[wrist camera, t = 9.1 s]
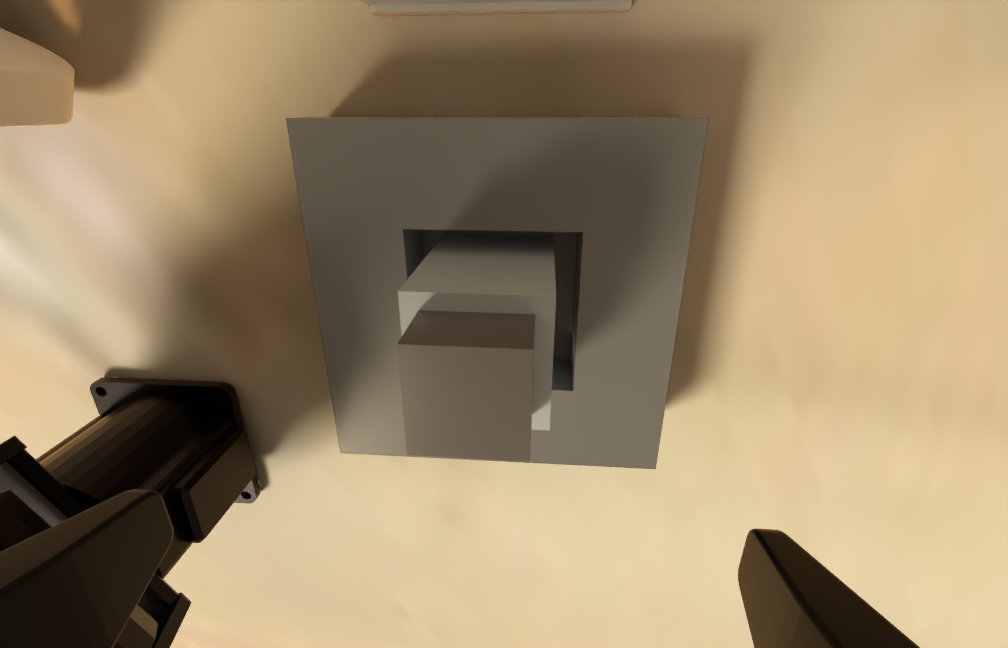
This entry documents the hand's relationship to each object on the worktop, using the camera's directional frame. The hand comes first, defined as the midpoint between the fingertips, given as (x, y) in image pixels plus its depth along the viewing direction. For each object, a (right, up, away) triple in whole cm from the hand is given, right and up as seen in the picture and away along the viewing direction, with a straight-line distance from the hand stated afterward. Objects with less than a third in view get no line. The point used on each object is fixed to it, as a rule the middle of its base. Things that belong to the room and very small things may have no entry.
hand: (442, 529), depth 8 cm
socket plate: (+1, +5, +12) cm, 13 cm away
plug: (+1, +4, +11) cm, 12 cm away
